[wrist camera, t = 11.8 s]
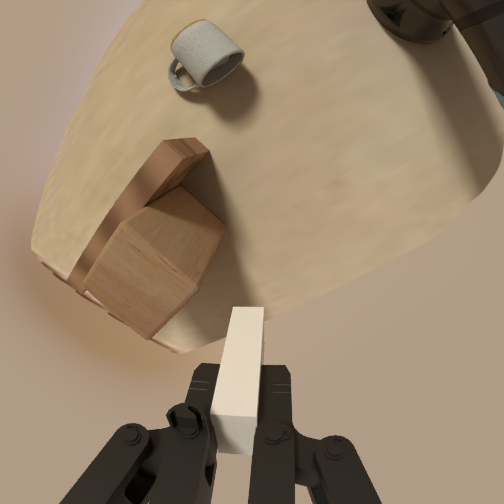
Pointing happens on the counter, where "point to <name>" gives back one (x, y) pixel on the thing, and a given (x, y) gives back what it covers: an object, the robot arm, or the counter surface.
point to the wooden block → (156, 261)
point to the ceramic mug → (203, 54)
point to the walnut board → (141, 195)
